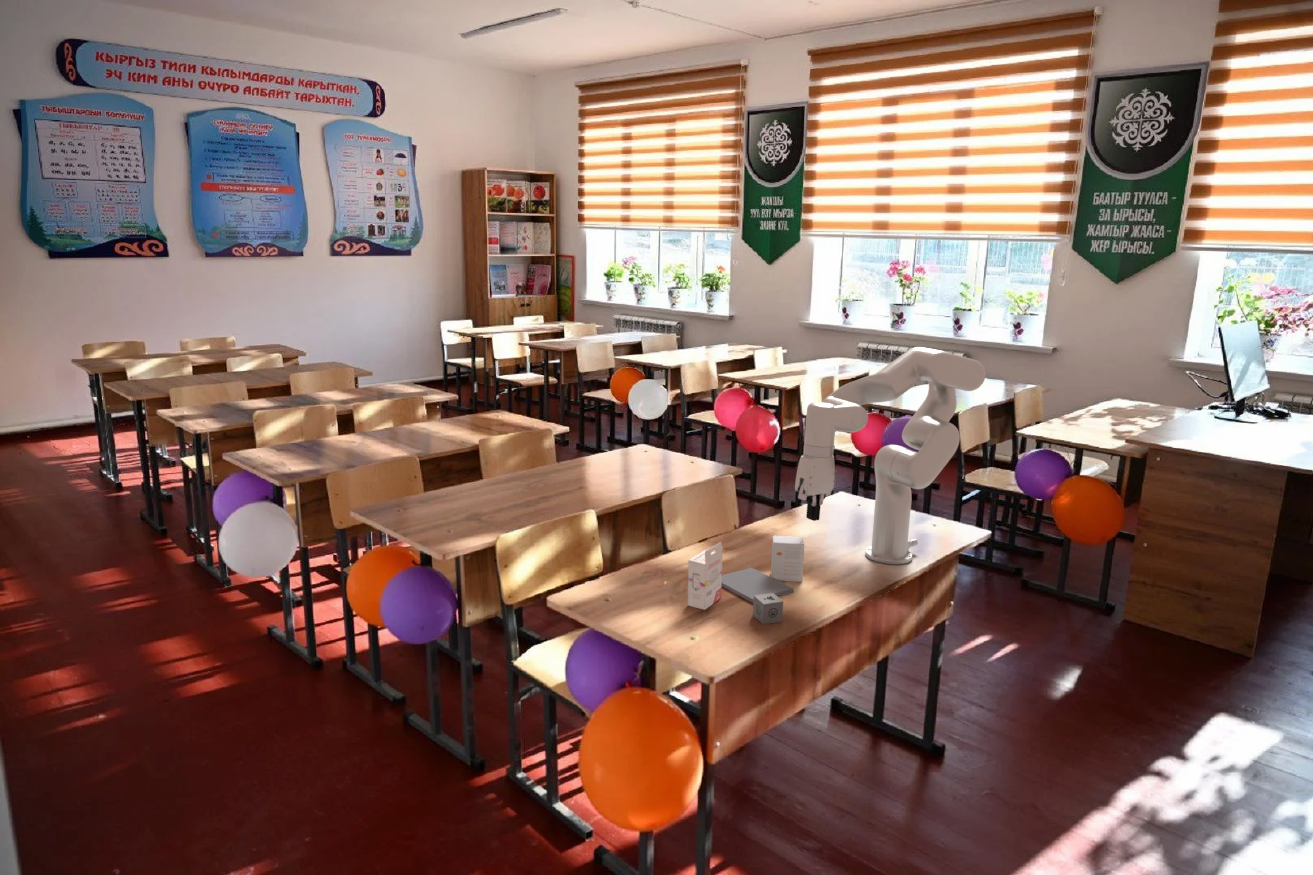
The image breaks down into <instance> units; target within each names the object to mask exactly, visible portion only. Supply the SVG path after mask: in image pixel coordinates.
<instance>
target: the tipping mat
mask: <svg viewBox="0 0 1313 875" xmlns="http://www.w3.org/2000/svg"><path fill="white" fill-rule="evenodd" d="M722 587H723V589H724V588H725V589H726V590H727V591H730V592H731V593H733V594H735V595H737V596H739V597H741V598H743V599H744V600H746V601H748V602H750V603H751V604H753V603H754V596H755V595H762V594H769V593H774V594H775V595H776V596H777V597H781V596H783V595H784V596H785V595H788V594H791V593H794V588H793V587H792V586H790V585H788V584H786V583H783V581H778V580H776V579H774V578H772V577H771V575H767V574H765V573H764V572H762V571H759V570H758V569H756V568H753V567H748V568H746V569H745V568H744V569H741V570H737V571H734V572H733V571H732V572H730V573H726V574H722V583H721V588H722Z"/></svg>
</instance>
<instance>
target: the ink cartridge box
mask: <svg viewBox="0 0 1313 875" xmlns="http://www.w3.org/2000/svg"><path fill="white" fill-rule="evenodd" d="M722 546H723V544H722V542H721V541H720V542H718V543H716V544H714V545H713V546H711V547H709V548H708V549H704V550H703V551H701V552H700V553H698V554H696V555H694V556H693V557H691V558H689V559H688V560H687V561H688V565H687V566H688V571H687V573H688V575H687V576H688V577H687V578H688V579H687V580H688V582H687V606H688V607H691V608H695V609H696V608H697V609H699V610H704V611H705V610H707V609H708V608H709V607H711V606H712V605H714V604H715V603H716V602H717V601H719V600H720V599H721V598H722V586H721V583H722V575H723V547H722Z"/></svg>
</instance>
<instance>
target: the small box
mask: <svg viewBox="0 0 1313 875" xmlns="http://www.w3.org/2000/svg"><path fill="white" fill-rule="evenodd" d="M771 539H772V543H771V562H770V577H772V578H774V579H776V580H778V581H780V582H796V583H797V582H800V583H801V582H803V578H804V577H803V576H804V572H803V571H804V554H805V542H804V536H795V535H772V538H771Z"/></svg>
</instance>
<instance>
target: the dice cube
mask: <svg viewBox="0 0 1313 875" xmlns="http://www.w3.org/2000/svg"><path fill="white" fill-rule="evenodd" d="M752 606H753V607H752V609H753V610H752V616H753V617H754V618H755V619H756V620H757V621H759V622H760V623H761V625H767V624H775V623H780V622H783V615H784V614H783V613H784V601H783V599H781V598H780V596H778V597H777V596H776V595H775V594H774V593H769V594H762V595H755V596H754V603H752Z"/></svg>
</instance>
